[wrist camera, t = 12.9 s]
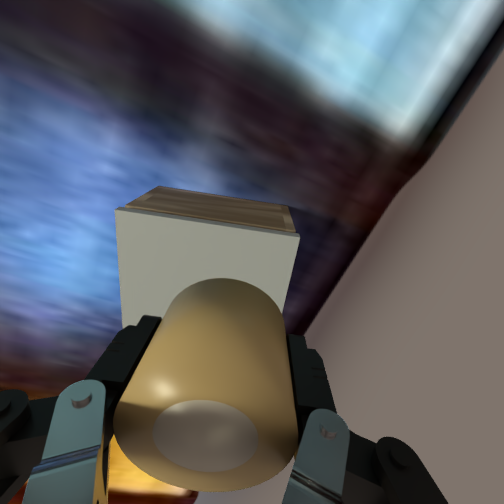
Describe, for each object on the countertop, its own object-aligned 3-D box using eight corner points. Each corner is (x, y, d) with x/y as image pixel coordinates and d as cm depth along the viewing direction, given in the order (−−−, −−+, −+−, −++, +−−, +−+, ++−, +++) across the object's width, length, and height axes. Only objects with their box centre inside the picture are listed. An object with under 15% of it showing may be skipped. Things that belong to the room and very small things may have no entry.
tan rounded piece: (166, 269, 12) (106, 356, 7) (295, 286, 12) (317, 383, 7) (164, 367, 14) (117, 483, 9) (273, 381, 14) (280, 502, 10)
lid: (119, 206, 22) (114, 209, 21) (299, 233, 23) (300, 237, 22) (129, 368, 30) (126, 374, 29) (262, 386, 30) (262, 392, 30)
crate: (158, 185, 30) (125, 205, 23) (287, 205, 30) (295, 230, 23) (157, 320, 37) (131, 368, 30) (260, 335, 38) (260, 385, 30)
